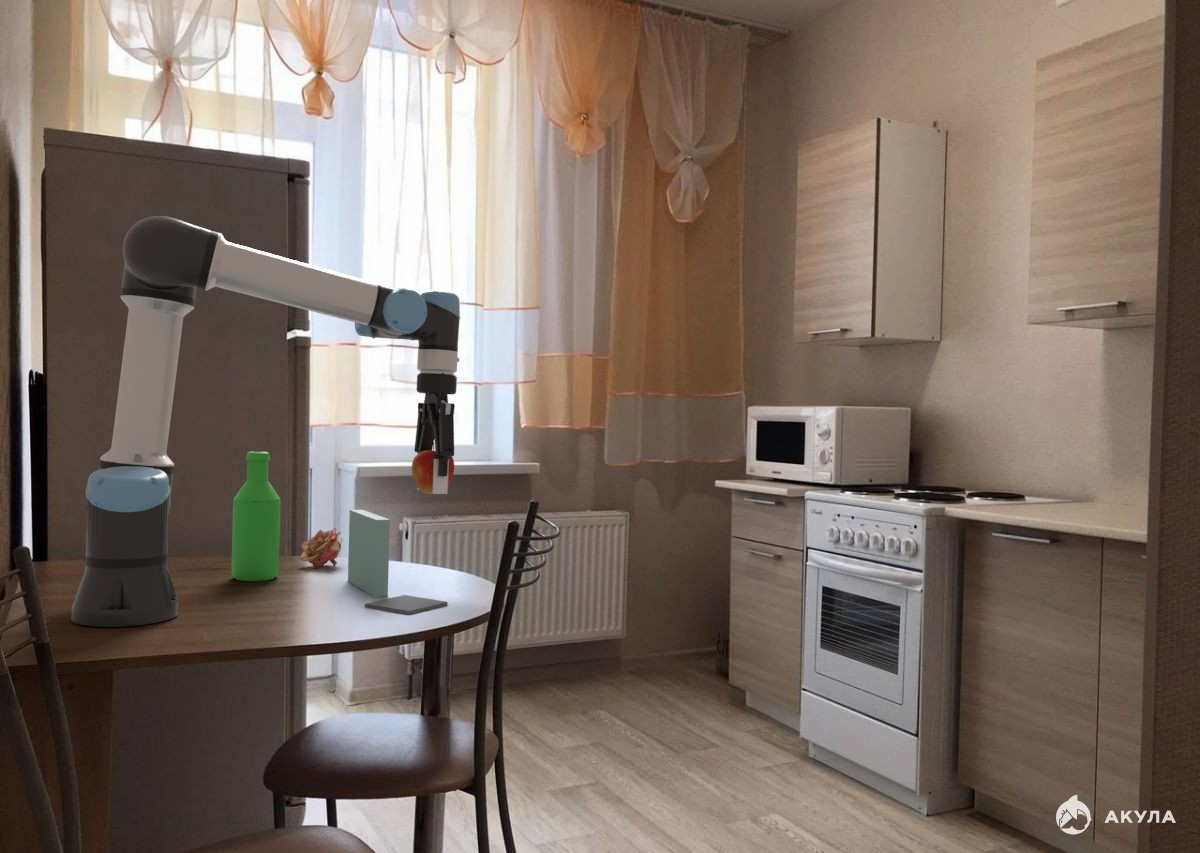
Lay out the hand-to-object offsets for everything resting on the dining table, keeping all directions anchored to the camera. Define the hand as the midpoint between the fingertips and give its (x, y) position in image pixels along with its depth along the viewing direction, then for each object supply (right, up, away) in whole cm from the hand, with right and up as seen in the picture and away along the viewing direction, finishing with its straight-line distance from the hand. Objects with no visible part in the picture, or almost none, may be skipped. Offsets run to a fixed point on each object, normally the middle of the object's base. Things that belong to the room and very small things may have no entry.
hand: (431, 491), depth 186 cm
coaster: (-1, -19, -17) cm, 26 cm away
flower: (-27, -18, +21) cm, 39 cm away
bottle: (-36, -18, +5) cm, 40 cm away
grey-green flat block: (-12, -18, -2) cm, 22 cm away
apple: (0, -1, 0) cm, 1 cm away
